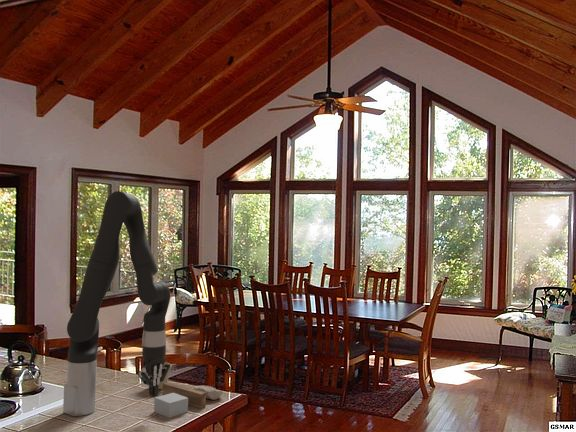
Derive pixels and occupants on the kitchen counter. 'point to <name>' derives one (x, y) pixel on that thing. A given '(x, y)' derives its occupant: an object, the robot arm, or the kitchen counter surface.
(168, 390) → the board
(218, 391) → the fossil
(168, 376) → the flower pot
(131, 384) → the kitchen counter surface
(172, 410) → the block
